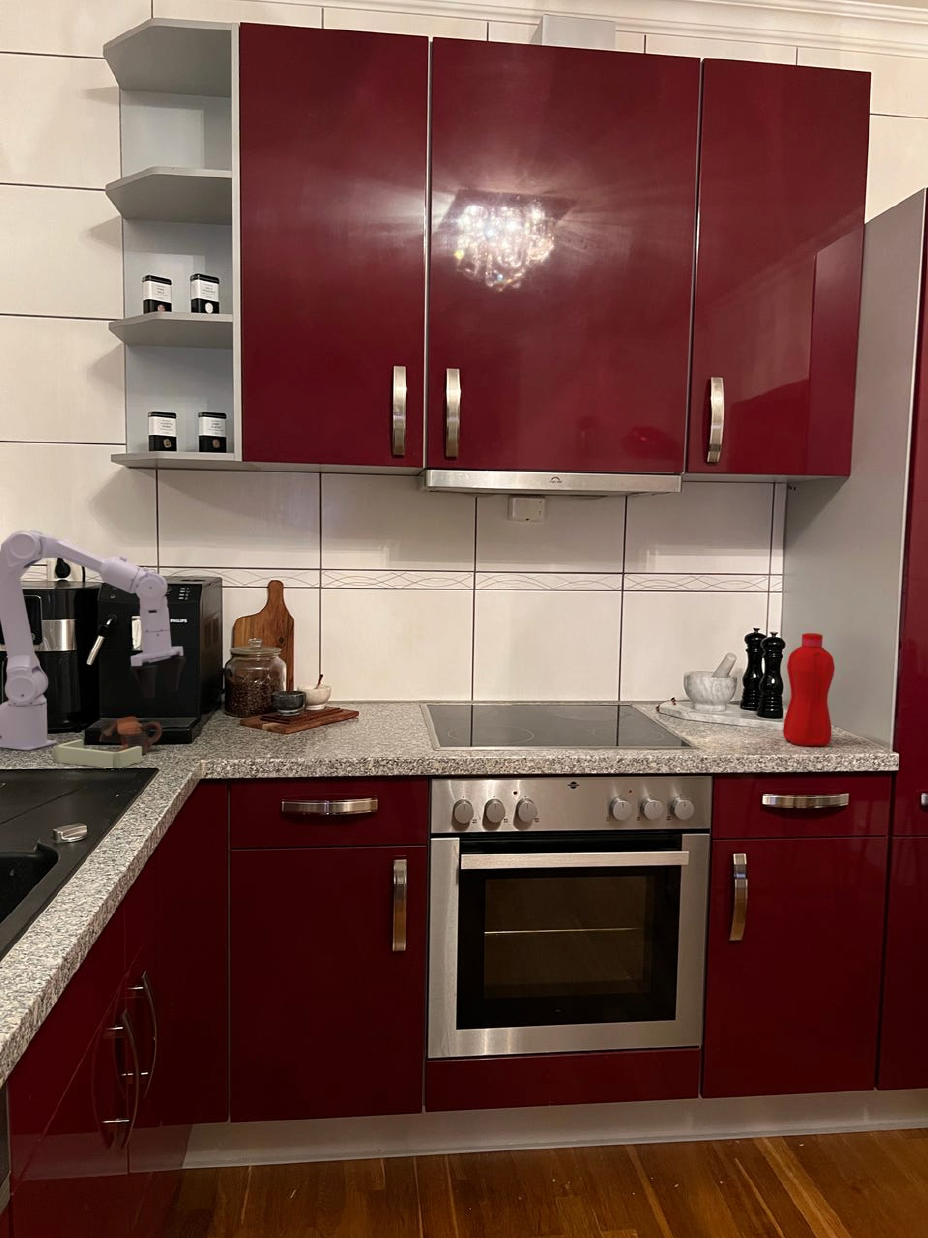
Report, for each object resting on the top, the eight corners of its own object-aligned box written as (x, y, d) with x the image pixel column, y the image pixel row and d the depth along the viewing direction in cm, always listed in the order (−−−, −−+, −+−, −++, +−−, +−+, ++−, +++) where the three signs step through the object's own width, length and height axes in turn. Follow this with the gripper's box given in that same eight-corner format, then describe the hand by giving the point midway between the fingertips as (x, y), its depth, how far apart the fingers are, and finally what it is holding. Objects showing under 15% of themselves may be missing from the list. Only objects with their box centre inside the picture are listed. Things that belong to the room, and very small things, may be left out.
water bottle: (813, 737, 219) (819, 630, 216) (835, 747, 208) (842, 635, 205) (775, 736, 218) (780, 630, 216) (795, 747, 207) (801, 635, 205)
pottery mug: (105, 763, 182) (94, 724, 184) (109, 773, 190) (98, 735, 192) (168, 743, 186) (155, 705, 188) (168, 754, 195) (157, 717, 197)
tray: (53, 761, 180) (53, 746, 179) (79, 754, 186) (79, 739, 186) (117, 770, 175) (117, 754, 174) (141, 761, 181) (141, 746, 181)
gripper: (148, 635, 188) (154, 701, 189) (192, 626, 201) (197, 688, 202) (120, 635, 190) (126, 701, 191) (165, 626, 203) (170, 688, 205)
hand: (161, 694), depth 197 cm, fingers open, 7 cm apart
